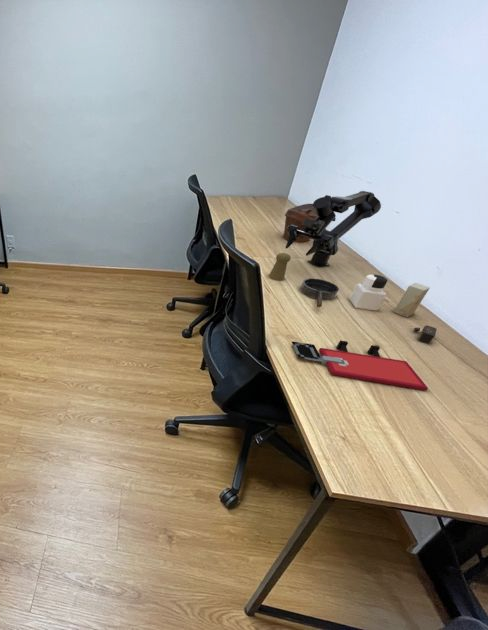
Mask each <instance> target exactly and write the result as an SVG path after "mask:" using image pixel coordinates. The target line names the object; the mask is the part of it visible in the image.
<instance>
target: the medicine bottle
mask: <svg viewBox="0 0 488 630" xmlns="http://www.w3.org/2000/svg"><path fill="white" fill-rule="evenodd" d="M387 283H388V278H387V277H385V276H383V275H380V274H374V273H373V274H368V275H366V277H365V278H364V280H363V282H362V283H356V285H355V287H354V289H353V290H352V293H351V295H350V297H349V301H350V302H351V304H352V305H353V307H354V309H361V310H369V311H374V312H375V311H376V312H377V311H379V309H380V307H381V306H382V303H383V302H384V300H385V299H386V297H387V293H386V291H384V288H385V287H386V285H387Z"/></svg>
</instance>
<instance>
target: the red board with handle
mask: <svg viewBox="0 0 488 630" xmlns="http://www.w3.org/2000/svg"><path fill="white" fill-rule="evenodd" d="M348 344H349V342H348V341H346V340H339V341H338V343H337V345H336V346H335V347H336V349H331V348H325V347H319V349H317V347H316V345H315V344H312V343H305V342H299V341H292V340H291V345H292V346H293V349H294V351H295V354H296V356H297V358H298V359H303V360H309V361H315V362H320V364H321V365H323V366H326V367H327V369H328V371H329V373H330V374H331V375H333V376H339V377H345V378H349V379H356V380H361V381H369V382H374V383H379V384H384V385H385V384H386V385H391V386H397V387H404V388H408V389H409V388H410V389H414V390H420V391H428V389H429V387H428V386H427V385H426V383H425V382H424V381H423V380H422V378H421V377H420V376H419V375H418V373H416V371H415V370H414V369H413V368H412V366H411V365H410V364H409V363H408V362H407V360H401V359H395V358H388V357H381V356H380V353H379V350H380V349H381V347H380V345H373V344H371V345H370V347H369V348H368V349H367V354H362V353H357V352H349V351H348V347H347V346H348ZM319 353H320V354H319Z"/></svg>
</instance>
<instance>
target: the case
mask: <svg viewBox="0 0 488 630" xmlns="http://www.w3.org/2000/svg"><path fill="white" fill-rule="evenodd" d="M284 217H285V221H284V230H283V238H284V239H286V240H287V241H288V239H289V235H288V232H287V230H286V228H287V227H288V226H289V225H295V226H298V227H299V229H300V230H301V231H305V230H304V229H303V228H304V226H302V223H303V222H304V220H305V219H306V218H307V219H311V220H315V218H316V217H317V215H316V213H315V210H314V206H313V203H305V204H300V205H297V206H294V207H291V208H288V209H287V210H286V212H285V213H284ZM296 238H297V239H296V240H295V241H294V242H296V243H297V242H298V243H305V242H308V241H310V240H311V238H307V237H304V236H301V235H299V236H298V237H296Z"/></svg>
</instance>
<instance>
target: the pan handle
mask: <svg viewBox="0 0 488 630" xmlns="http://www.w3.org/2000/svg"><path fill="white" fill-rule="evenodd" d="M316 307H318V308H322V307H323V300H322V292H319V291H318V293H317V299H316Z"/></svg>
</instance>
